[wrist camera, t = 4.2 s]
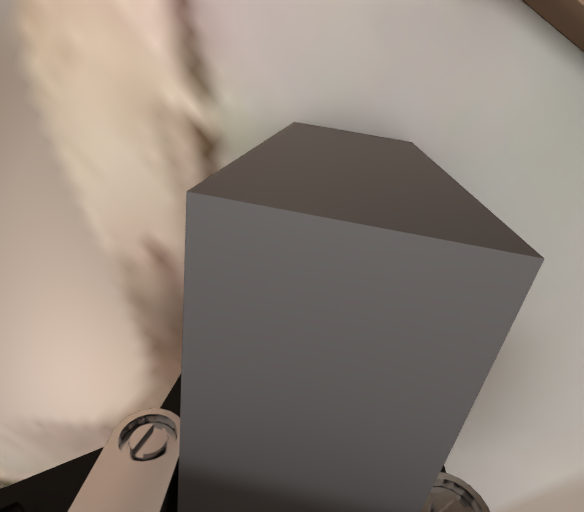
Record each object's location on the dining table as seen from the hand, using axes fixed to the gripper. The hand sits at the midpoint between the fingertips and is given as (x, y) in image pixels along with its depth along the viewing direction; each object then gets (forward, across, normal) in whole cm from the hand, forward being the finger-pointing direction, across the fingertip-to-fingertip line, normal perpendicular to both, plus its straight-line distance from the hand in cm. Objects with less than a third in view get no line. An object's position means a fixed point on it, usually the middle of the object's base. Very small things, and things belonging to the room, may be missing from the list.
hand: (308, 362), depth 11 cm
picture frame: (+2, 0, 0) cm, 2 cm away
